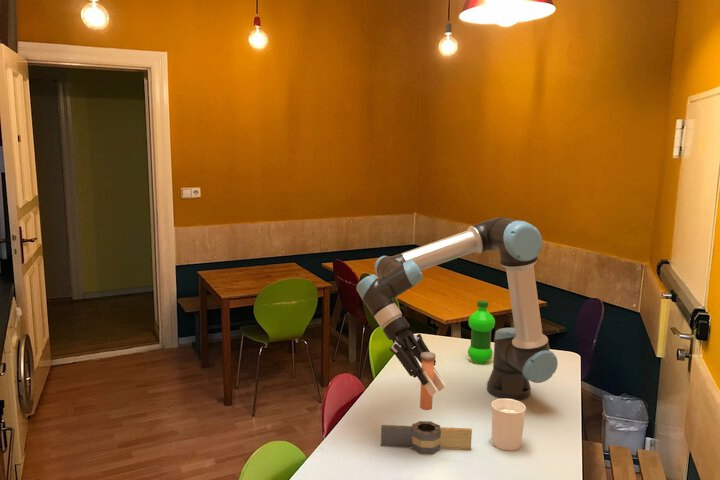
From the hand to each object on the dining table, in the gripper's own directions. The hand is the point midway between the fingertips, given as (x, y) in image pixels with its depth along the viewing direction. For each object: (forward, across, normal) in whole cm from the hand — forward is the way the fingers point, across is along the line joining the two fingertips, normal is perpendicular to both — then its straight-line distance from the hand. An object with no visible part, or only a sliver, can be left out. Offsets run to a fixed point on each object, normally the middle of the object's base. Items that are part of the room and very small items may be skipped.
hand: (438, 391), depth 166 cm
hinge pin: (+2, 0, -7) cm, 7 cm away
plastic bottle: (-4, -73, -30) cm, 79 cm away
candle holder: (+23, -18, -4) cm, 29 cm away
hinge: (+10, 0, -16) cm, 19 cm away
